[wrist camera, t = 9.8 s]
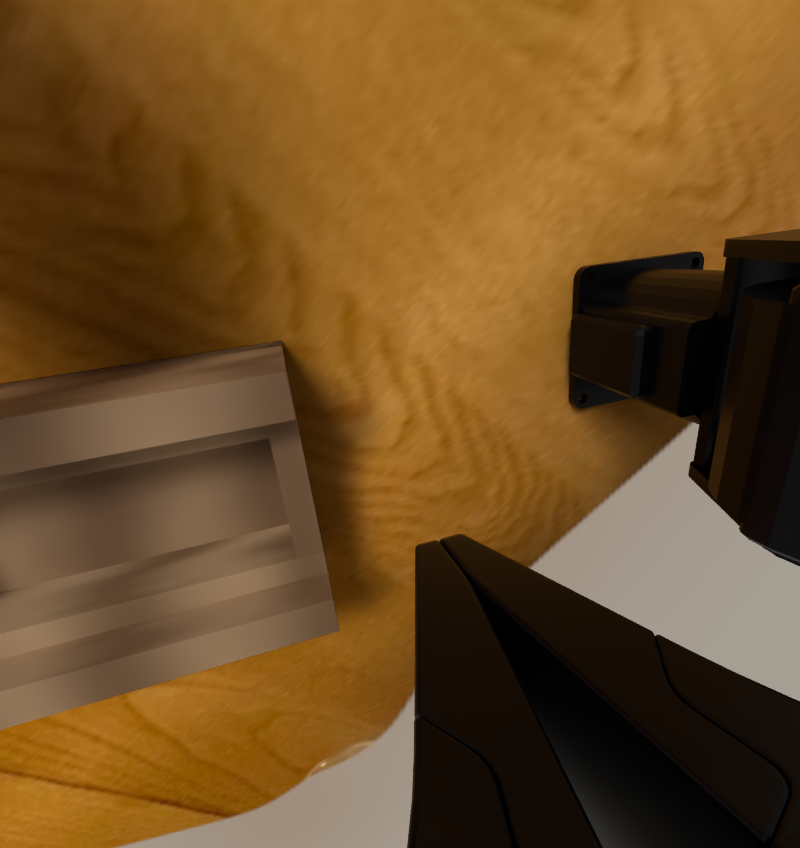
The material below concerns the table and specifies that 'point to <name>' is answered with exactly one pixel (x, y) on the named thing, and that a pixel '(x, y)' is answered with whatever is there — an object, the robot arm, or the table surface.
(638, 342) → the robot arm
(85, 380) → the walnut box
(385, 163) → the table surface
